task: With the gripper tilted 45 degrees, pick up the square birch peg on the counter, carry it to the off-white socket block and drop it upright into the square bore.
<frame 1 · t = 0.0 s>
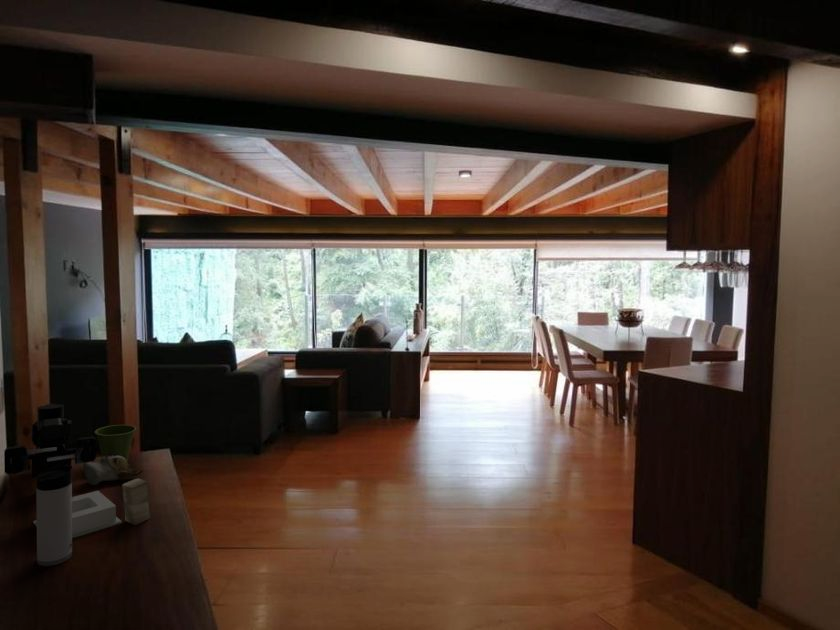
hand: (53, 464, 122), 17 cm above the table, fingers open, 9 cm apart
birch peg: (137, 519, 130), on the table
plant pot: (115, 463, 169), on the table
ceramic sculpture: (111, 480, 155), on the table
travel mug: (55, 559, 112), on the table
socket block: (77, 523, 127), on the table
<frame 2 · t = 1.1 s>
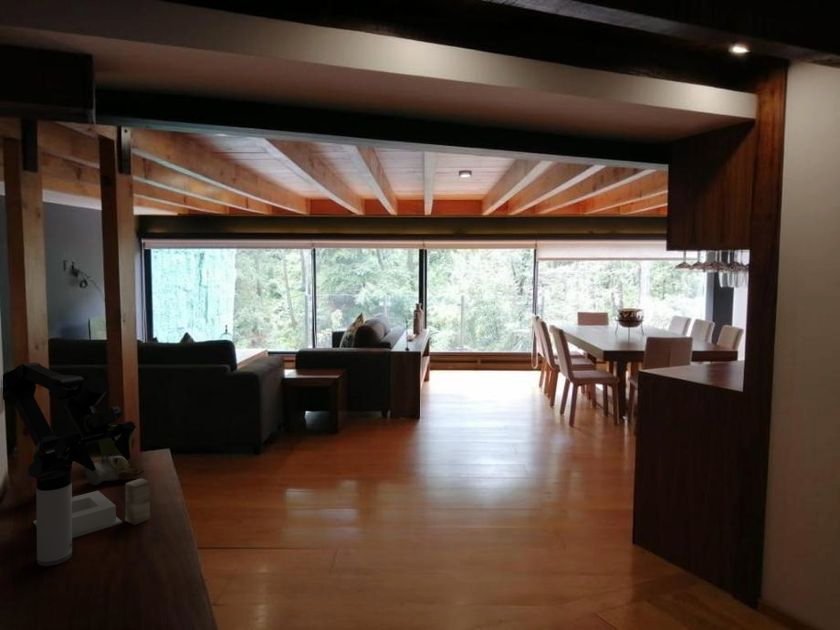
hand: (112, 464, 132), 14 cm above the table, fingers open, 9 cm apart
nothing on the table moved.
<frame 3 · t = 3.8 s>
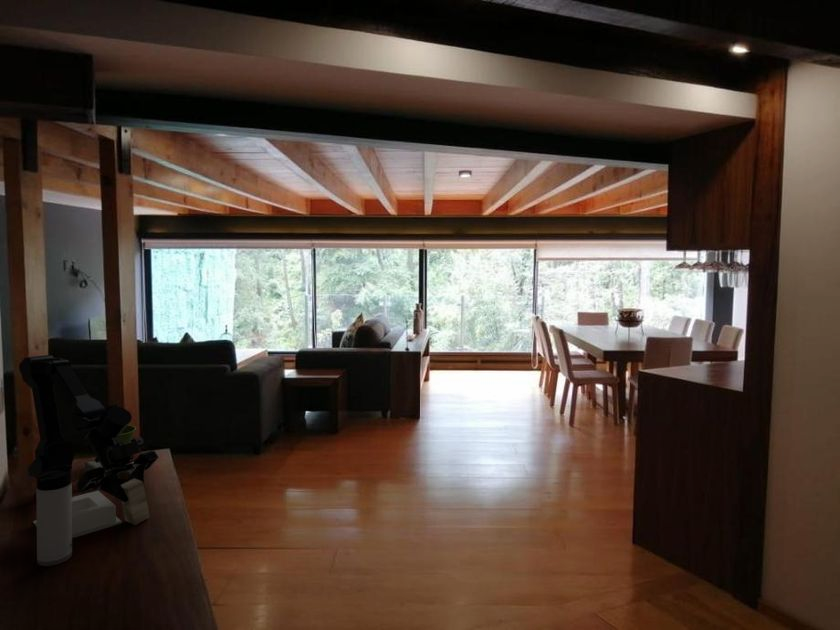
hand: (135, 497, 128), 7 cm above the table, fingers closed on birch peg, 4 cm apart
birch peg: (137, 519, 130), on the table, tilted 10°, touching gripper
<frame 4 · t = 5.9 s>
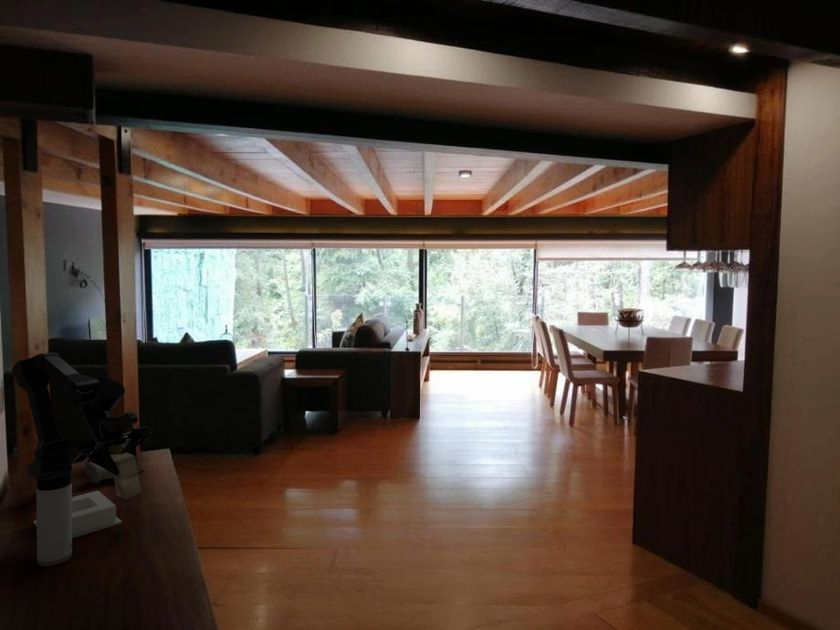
hand: (126, 471, 127), 13 cm above the table, fingers closed on birch peg, 4 cm apart
birch peg: (129, 493, 129), point 7 cm above the table, tilted 10°, touching gripper
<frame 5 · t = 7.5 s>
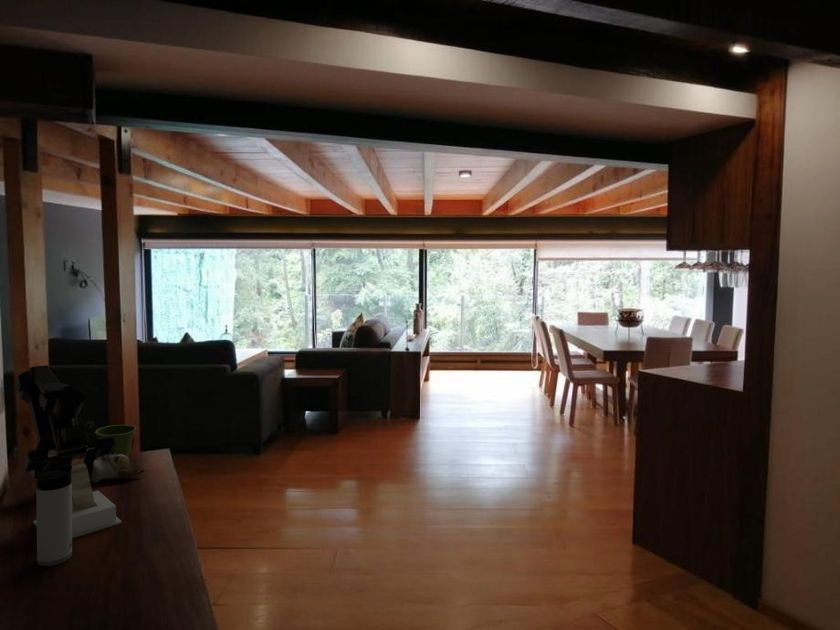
hand: (79, 482, 126), 11 cm above the table, fingers closed on birch peg, 4 cm apart
birch peg: (83, 504, 128), point 5 cm above the table, tilted 9°, touching gripper
when the fingers open (8 cm above the table, at t = 8.5 s): birch peg drops 1 cm, resting on socket block.
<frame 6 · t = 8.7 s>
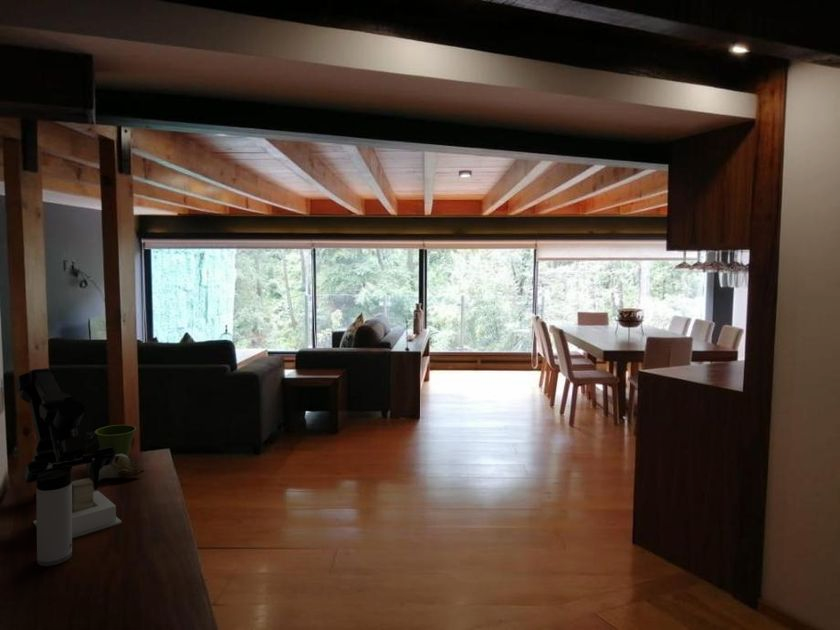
hand: (79, 493, 126), 8 cm above the table, fingers open, 7 cm apart
birch peg: (81, 520, 128), point 1 cm above the table, touching socket block
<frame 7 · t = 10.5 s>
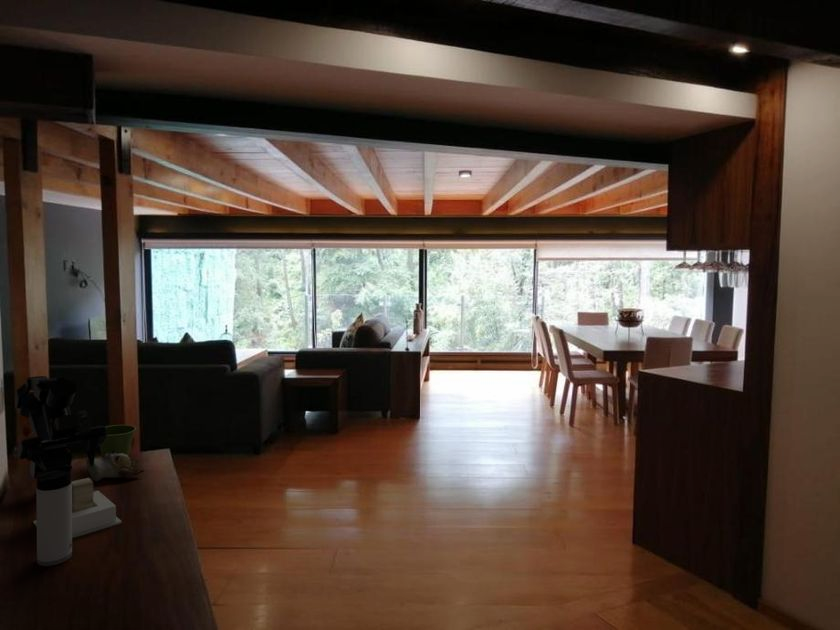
hand: (71, 470, 129), 12 cm above the table, fingers open, 9 cm apart
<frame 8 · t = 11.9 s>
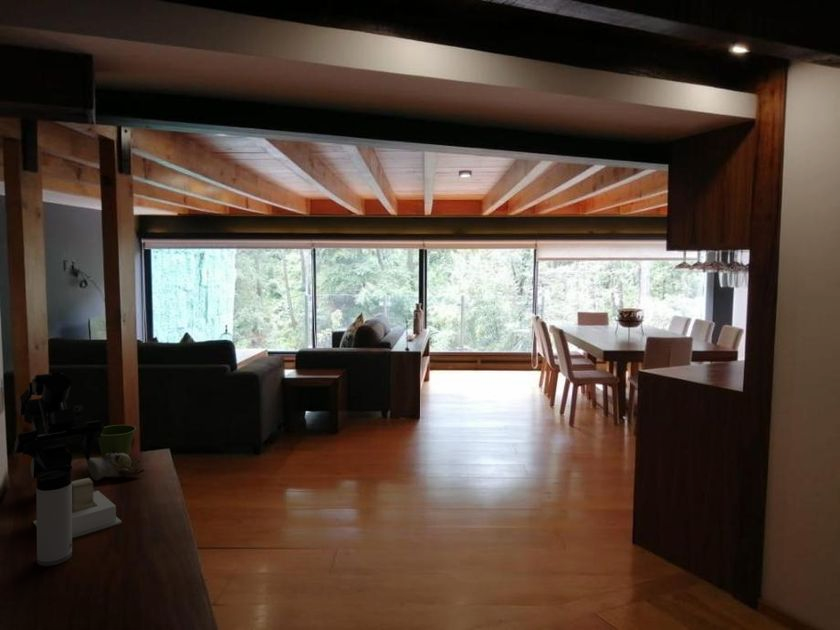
hand: (67, 463, 131), 14 cm above the table, fingers open, 9 cm apart
at the end: birch peg 0.9 cm off-centre on the socket block, point 0.6 cm above the socket block's base; birch peg tilted 0°; the gripper is holding nothing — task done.
